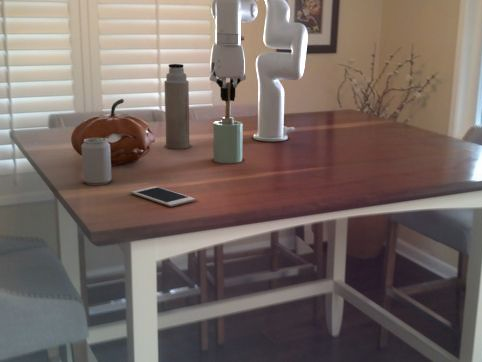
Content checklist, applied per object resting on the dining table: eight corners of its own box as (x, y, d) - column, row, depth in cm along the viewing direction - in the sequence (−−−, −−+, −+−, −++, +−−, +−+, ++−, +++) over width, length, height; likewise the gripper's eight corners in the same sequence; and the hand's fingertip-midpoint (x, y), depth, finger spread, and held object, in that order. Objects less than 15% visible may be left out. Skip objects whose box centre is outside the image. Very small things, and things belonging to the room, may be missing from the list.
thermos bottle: (192, 144, 233) (191, 63, 226) (184, 149, 225) (183, 65, 218) (171, 143, 234) (169, 62, 227) (162, 147, 227) (160, 64, 220)
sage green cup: (233, 155, 218) (234, 119, 215) (247, 161, 211) (247, 124, 208) (208, 158, 213) (208, 121, 210) (221, 164, 206) (221, 126, 203)
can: (86, 178, 186) (84, 136, 183) (114, 178, 186) (112, 136, 183) (80, 185, 179) (78, 141, 175) (109, 185, 179) (107, 142, 176)
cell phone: (170, 207, 162) (170, 204, 162) (131, 193, 172) (131, 191, 172) (195, 200, 167) (195, 198, 167) (155, 188, 178) (155, 185, 178)
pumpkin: (116, 175, 190) (113, 109, 185) (54, 163, 202) (50, 101, 197) (172, 159, 211) (171, 99, 206) (113, 149, 223) (110, 92, 218)
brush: (230, 135, 212) (230, 81, 208) (235, 137, 209) (235, 82, 205) (220, 136, 210) (220, 82, 206) (225, 138, 207) (225, 83, 203)
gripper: (245, 39, 209) (244, 97, 214) (199, 39, 201) (199, 100, 206) (256, 40, 203) (255, 100, 208) (210, 40, 195) (210, 103, 200)
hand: (227, 100), depth 207 cm, fingers closed on brush
